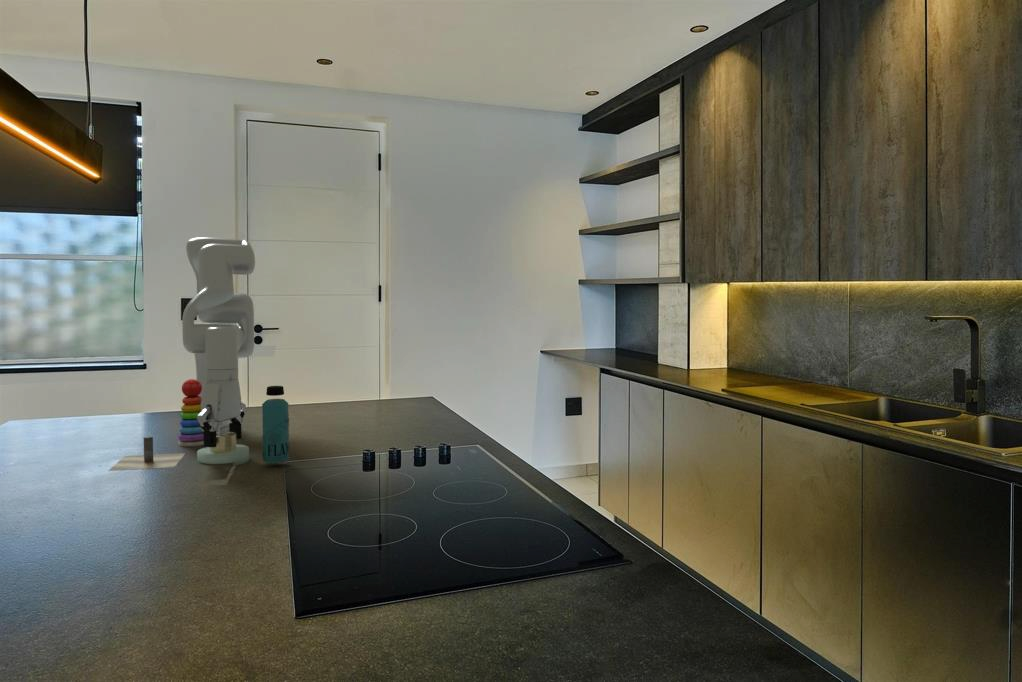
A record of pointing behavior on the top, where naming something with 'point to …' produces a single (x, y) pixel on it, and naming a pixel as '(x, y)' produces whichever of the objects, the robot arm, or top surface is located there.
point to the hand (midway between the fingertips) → (223, 442)
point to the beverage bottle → (275, 427)
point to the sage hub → (224, 453)
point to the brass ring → (225, 443)
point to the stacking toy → (191, 415)
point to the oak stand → (147, 459)
